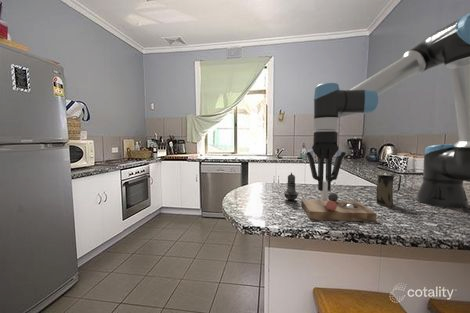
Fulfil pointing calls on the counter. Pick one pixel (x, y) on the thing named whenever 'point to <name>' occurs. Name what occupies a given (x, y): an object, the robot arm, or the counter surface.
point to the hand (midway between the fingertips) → (324, 199)
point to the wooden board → (337, 211)
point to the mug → (386, 189)
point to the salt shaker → (291, 190)
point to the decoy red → (331, 205)
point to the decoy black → (333, 197)
